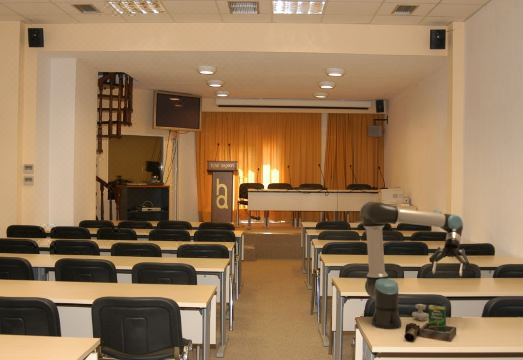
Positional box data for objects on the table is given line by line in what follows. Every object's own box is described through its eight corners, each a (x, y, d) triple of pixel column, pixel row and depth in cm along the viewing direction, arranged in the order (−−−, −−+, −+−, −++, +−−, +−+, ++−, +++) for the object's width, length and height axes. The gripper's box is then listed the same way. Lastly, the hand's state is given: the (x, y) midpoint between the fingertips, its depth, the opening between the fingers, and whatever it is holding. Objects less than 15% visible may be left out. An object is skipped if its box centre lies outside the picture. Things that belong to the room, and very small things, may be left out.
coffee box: (428, 332, 245) (428, 305, 245) (429, 330, 247) (429, 304, 248) (445, 334, 241) (445, 307, 241) (446, 333, 243) (446, 306, 244)
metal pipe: (414, 343, 232) (414, 331, 232) (400, 341, 235) (400, 329, 235) (421, 333, 247) (421, 322, 247) (408, 331, 250) (408, 320, 251)
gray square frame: (419, 336, 241) (419, 328, 241) (426, 329, 254) (426, 322, 254) (450, 341, 234) (450, 333, 234) (456, 334, 246) (456, 326, 246)
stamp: (422, 317, 279) (422, 302, 279) (430, 320, 273) (431, 305, 273) (409, 319, 275) (409, 304, 275) (418, 322, 269) (418, 306, 269)
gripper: (477, 248, 270) (473, 280, 257) (430, 245, 283) (423, 275, 270) (476, 239, 265) (471, 271, 252) (428, 236, 279) (421, 266, 265)
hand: (446, 273), depth 261 cm, fingers open, 13 cm apart
